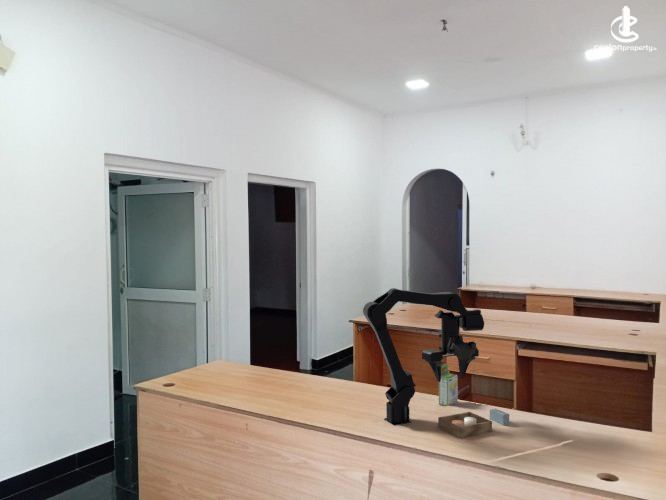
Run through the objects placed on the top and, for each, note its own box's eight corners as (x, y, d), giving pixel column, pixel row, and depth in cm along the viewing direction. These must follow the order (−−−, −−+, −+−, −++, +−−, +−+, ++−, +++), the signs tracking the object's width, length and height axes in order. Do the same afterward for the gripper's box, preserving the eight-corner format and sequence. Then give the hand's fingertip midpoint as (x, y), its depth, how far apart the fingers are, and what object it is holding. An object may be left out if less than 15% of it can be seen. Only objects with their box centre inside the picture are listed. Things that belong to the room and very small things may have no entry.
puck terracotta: (457, 433, 152) (457, 424, 152) (449, 429, 155) (449, 421, 155) (466, 431, 154) (466, 422, 154) (459, 427, 157) (459, 419, 157)
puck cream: (469, 430, 155) (469, 421, 155) (461, 426, 158) (461, 418, 158) (478, 428, 156) (478, 419, 156) (471, 424, 159) (471, 416, 159)
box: (459, 440, 148) (459, 427, 148) (438, 428, 157) (438, 417, 157) (491, 433, 154) (491, 421, 153) (469, 422, 163) (469, 411, 163)
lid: (495, 434, 154) (495, 420, 154) (472, 423, 164) (472, 409, 164) (527, 427, 160) (527, 413, 160) (502, 417, 169) (502, 404, 169)
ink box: (448, 407, 178) (448, 368, 178) (438, 405, 180) (438, 366, 180) (458, 402, 183) (457, 364, 183) (447, 400, 186) (447, 363, 186)
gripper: (442, 338, 155) (442, 390, 155) (490, 333, 163) (490, 382, 163) (420, 332, 165) (421, 381, 165) (467, 327, 173) (467, 374, 173)
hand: (450, 380), depth 166 cm, fingers open, 9 cm apart
